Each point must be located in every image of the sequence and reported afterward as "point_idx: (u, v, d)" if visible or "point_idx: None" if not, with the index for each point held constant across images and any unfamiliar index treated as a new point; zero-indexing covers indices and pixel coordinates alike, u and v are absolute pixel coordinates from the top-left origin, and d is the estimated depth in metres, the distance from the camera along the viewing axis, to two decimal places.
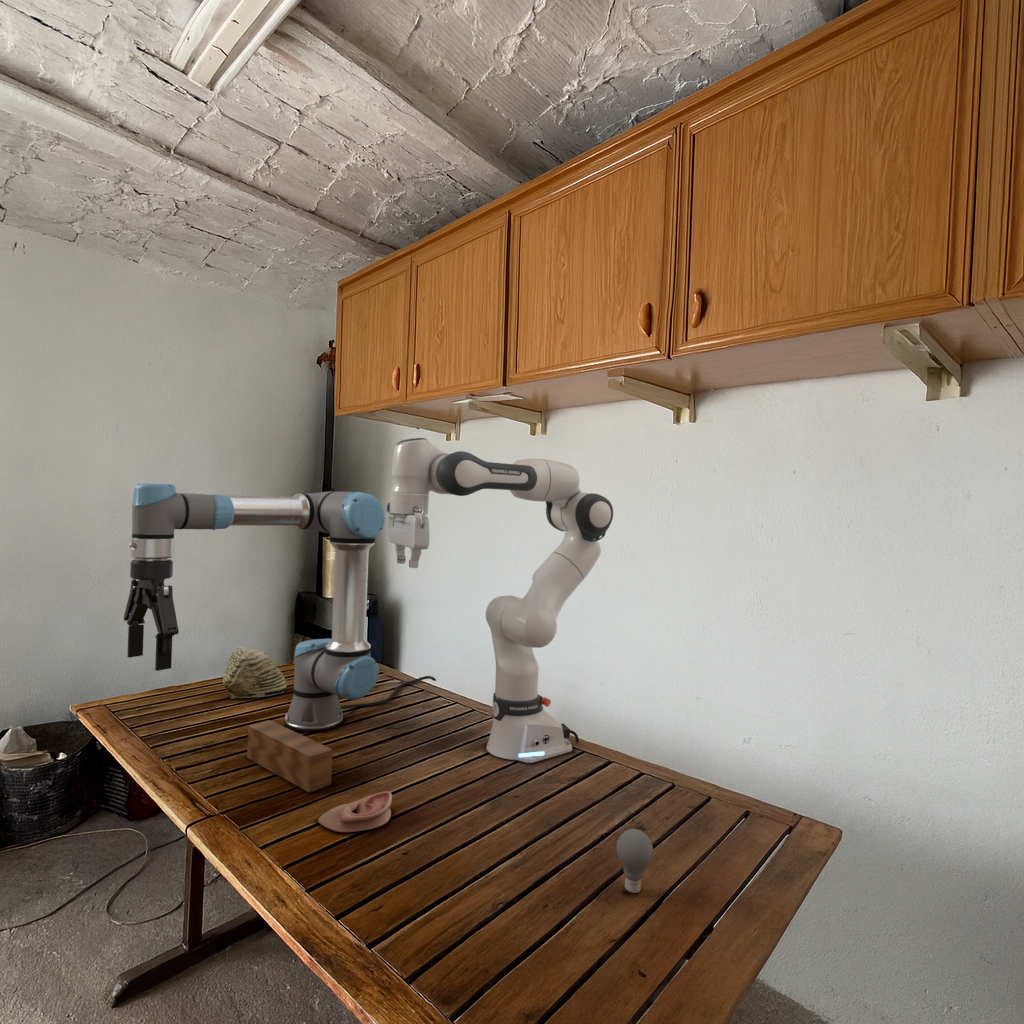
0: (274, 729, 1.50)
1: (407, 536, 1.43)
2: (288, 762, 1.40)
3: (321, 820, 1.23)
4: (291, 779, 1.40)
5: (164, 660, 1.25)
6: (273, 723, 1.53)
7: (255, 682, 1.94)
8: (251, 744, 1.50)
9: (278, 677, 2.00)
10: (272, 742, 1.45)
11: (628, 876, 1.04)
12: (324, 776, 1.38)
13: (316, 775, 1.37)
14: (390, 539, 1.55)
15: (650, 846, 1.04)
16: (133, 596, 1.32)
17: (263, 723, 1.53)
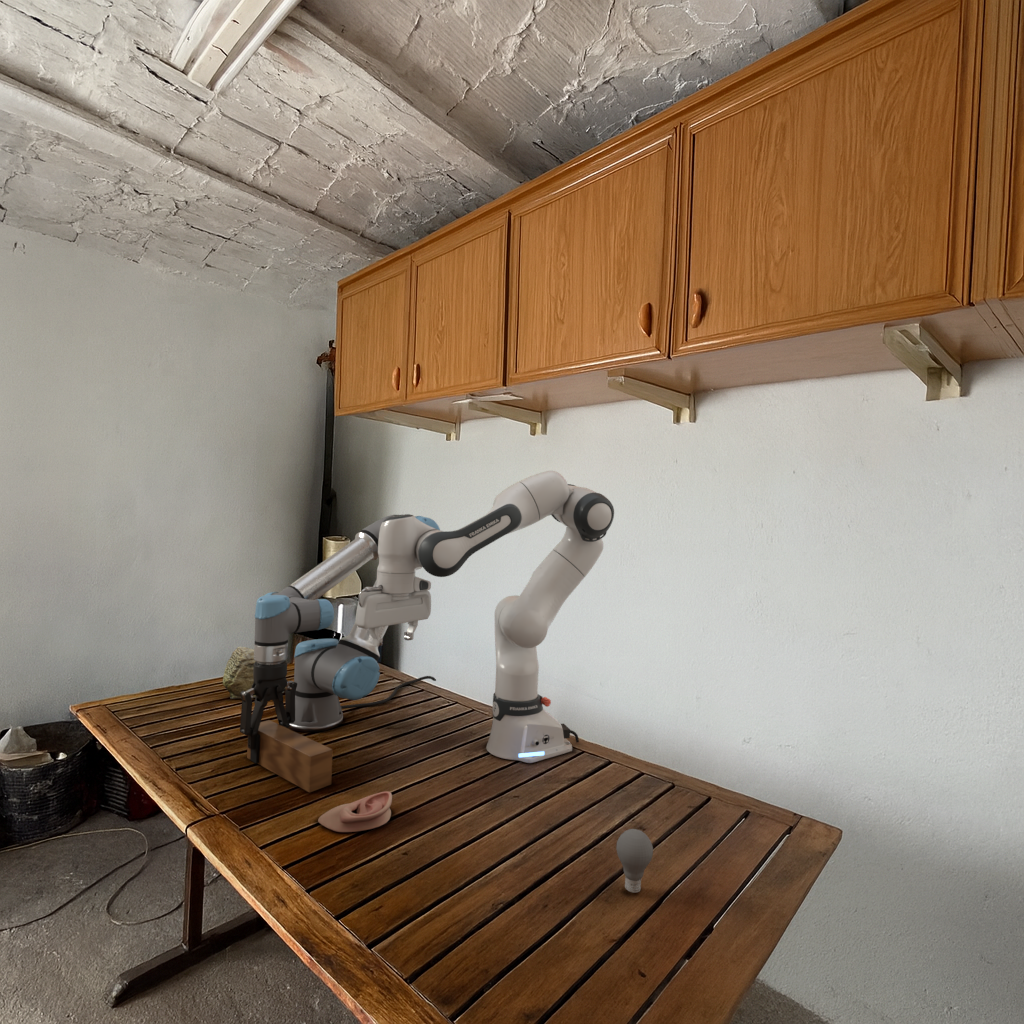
0: (274, 729, 1.50)
1: None
2: (288, 762, 1.40)
3: (321, 820, 1.23)
4: (291, 779, 1.40)
5: None
6: (273, 723, 1.53)
7: None
8: None
9: None
10: (272, 742, 1.45)
11: (628, 876, 1.04)
12: (324, 776, 1.38)
13: (316, 775, 1.37)
14: None
15: (650, 846, 1.04)
16: None
17: (263, 723, 1.53)
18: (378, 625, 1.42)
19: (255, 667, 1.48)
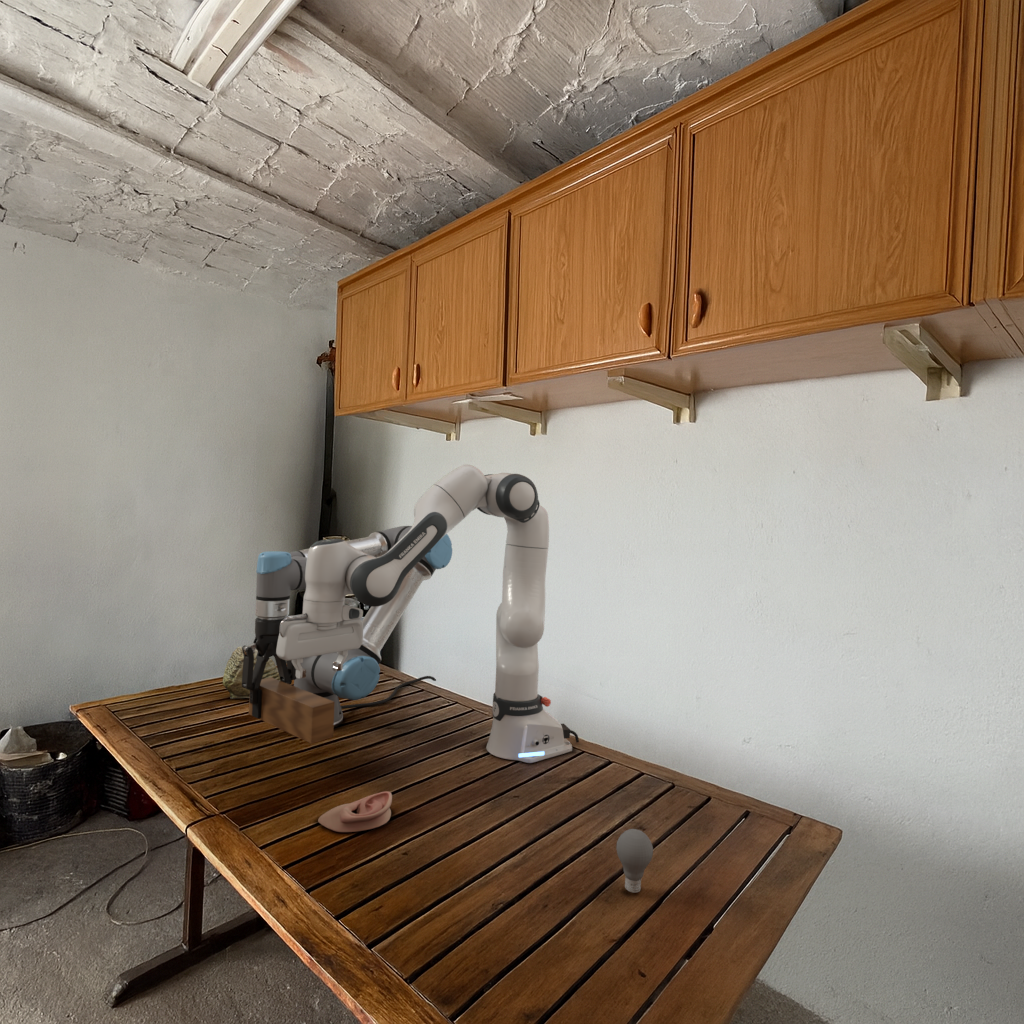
0: (276, 684, 1.50)
1: None
2: (290, 715, 1.40)
3: (321, 820, 1.23)
4: (293, 731, 1.40)
5: None
6: (275, 680, 1.53)
7: None
8: None
9: (278, 677, 2.00)
10: (274, 696, 1.44)
11: (628, 876, 1.04)
12: (326, 728, 1.38)
13: (318, 727, 1.36)
14: None
15: (650, 846, 1.04)
16: None
17: (264, 680, 1.53)
18: (301, 656, 1.34)
19: (257, 622, 1.48)
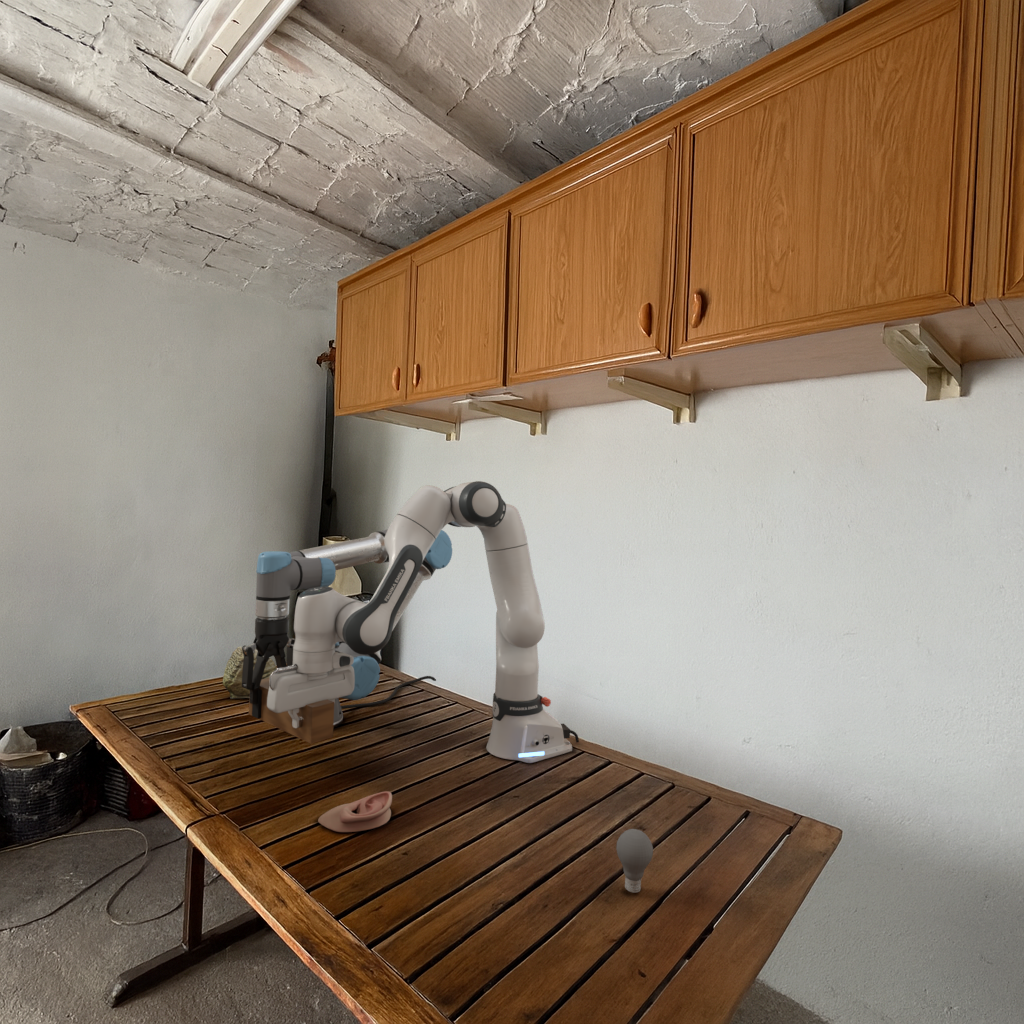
0: None
1: None
2: None
3: (321, 820, 1.23)
4: (293, 732, 1.39)
5: None
6: None
7: None
8: None
9: None
10: None
11: (628, 876, 1.04)
12: (326, 728, 1.38)
13: (318, 727, 1.36)
14: None
15: (650, 846, 1.04)
16: None
17: (264, 680, 1.53)
18: (291, 708, 1.34)
19: (257, 622, 1.48)
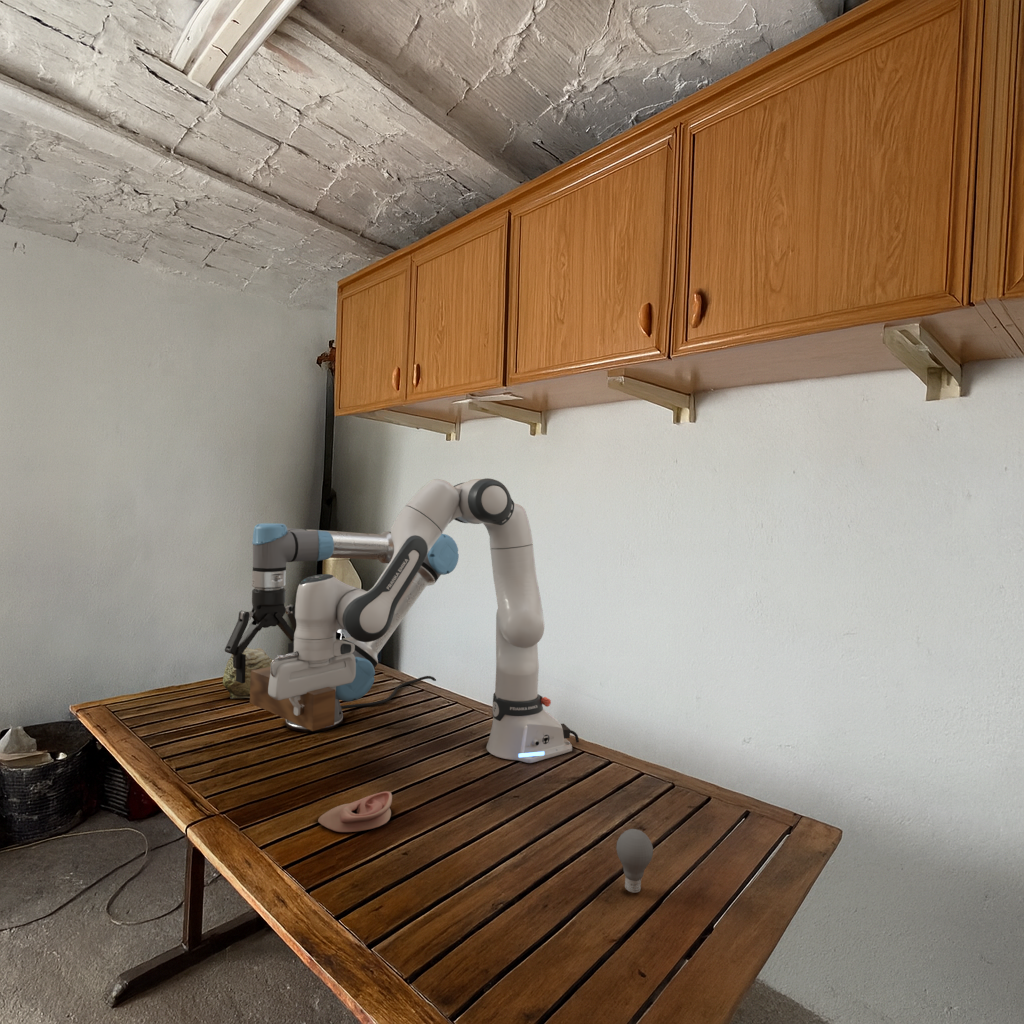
0: None
1: None
2: (291, 703, 1.40)
3: (321, 820, 1.23)
4: (294, 719, 1.39)
5: None
6: None
7: None
8: (254, 689, 1.50)
9: None
10: None
11: (628, 876, 1.04)
12: (327, 716, 1.38)
13: (319, 714, 1.36)
14: None
15: (650, 846, 1.04)
16: None
17: (265, 668, 1.53)
18: (293, 695, 1.34)
19: (254, 593, 1.49)
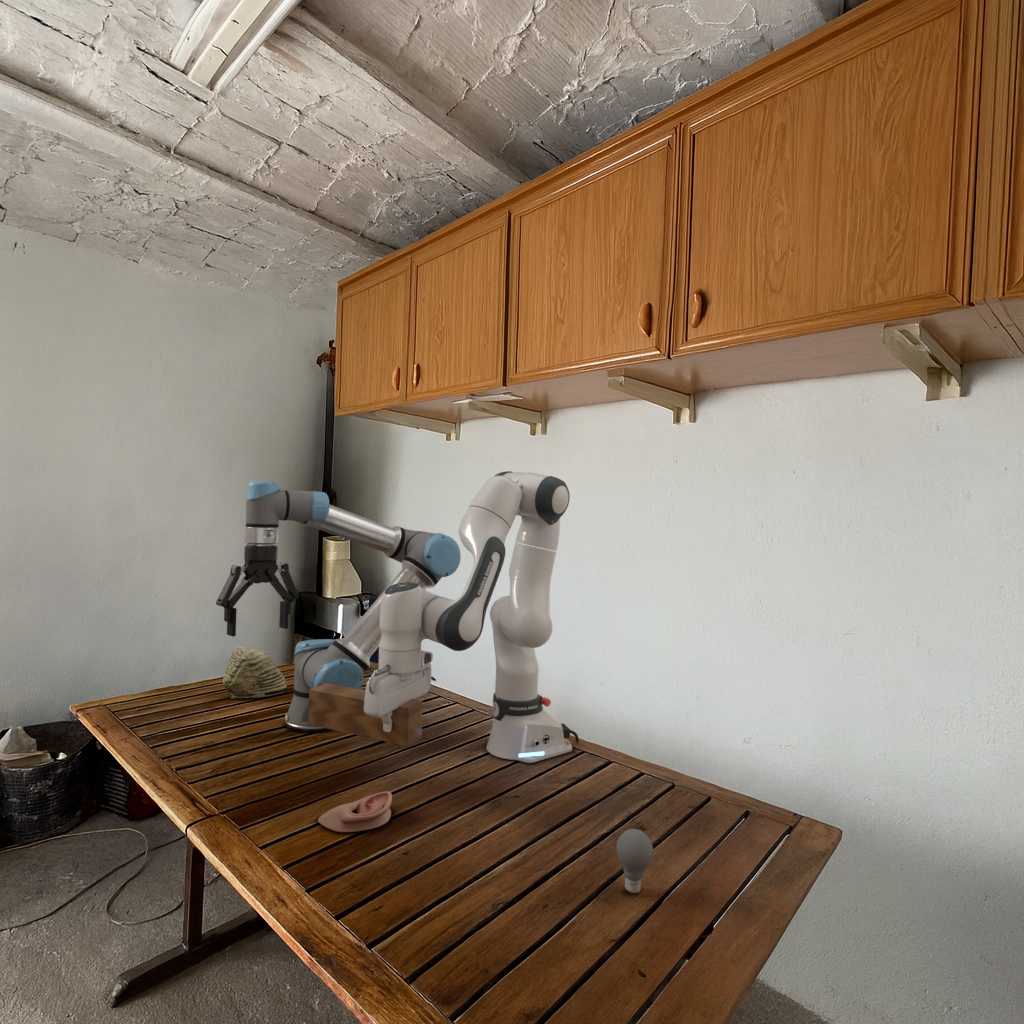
0: (341, 690, 1.40)
1: None
2: (375, 719, 1.33)
3: (321, 820, 1.23)
4: (379, 736, 1.32)
5: None
6: (334, 685, 1.43)
7: (255, 682, 1.94)
8: (315, 709, 1.39)
9: (278, 677, 2.00)
10: (348, 702, 1.35)
11: (628, 876, 1.04)
12: (417, 729, 1.33)
13: (412, 728, 1.31)
14: None
15: (650, 846, 1.04)
16: None
17: (323, 686, 1.42)
18: (389, 711, 1.27)
19: (246, 548, 1.51)
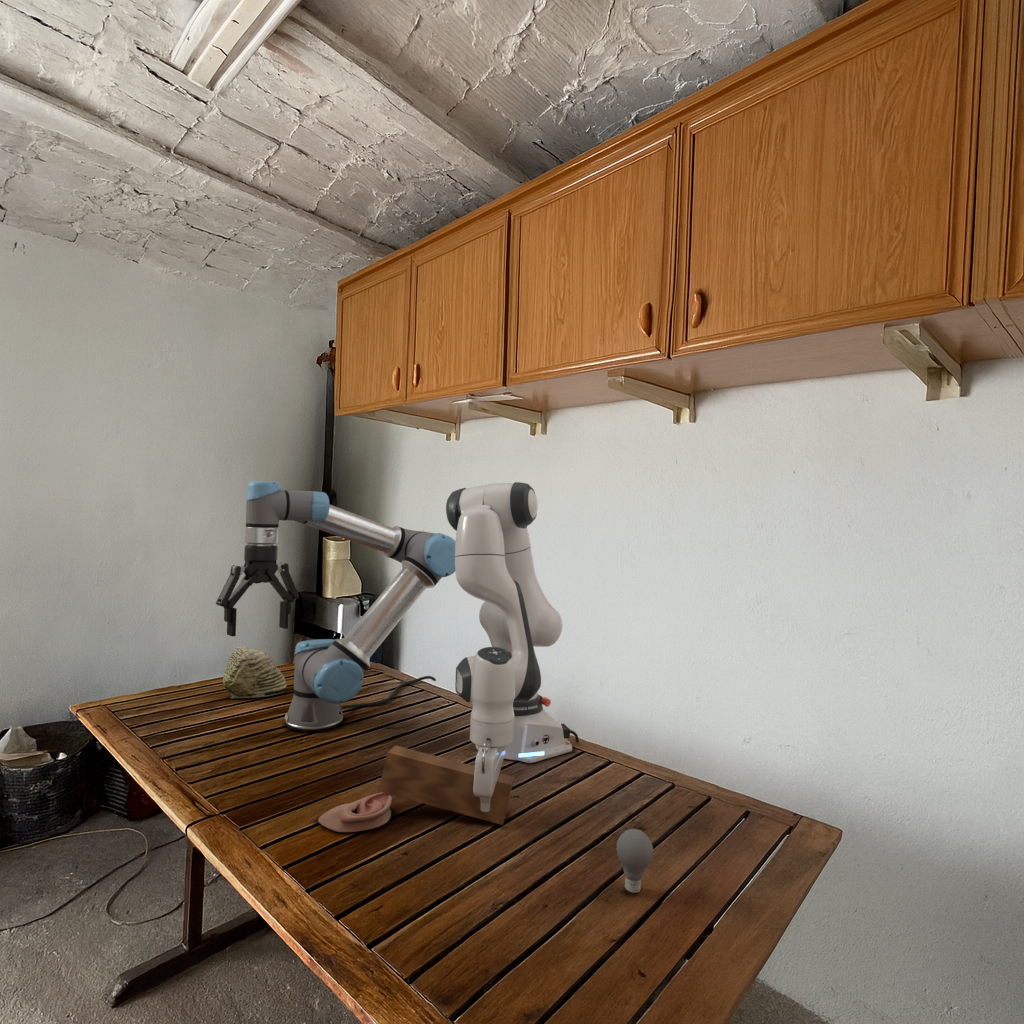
0: (421, 756, 1.30)
1: None
2: (467, 793, 1.25)
3: (321, 820, 1.23)
4: (469, 812, 1.25)
5: None
6: (407, 749, 1.33)
7: (255, 682, 1.94)
8: (391, 774, 1.27)
9: (278, 677, 2.00)
10: (436, 771, 1.27)
11: (628, 876, 1.04)
12: (507, 806, 1.28)
13: (507, 805, 1.26)
14: None
15: (650, 846, 1.04)
16: None
17: (397, 749, 1.31)
18: (494, 788, 1.21)
19: (246, 548, 1.51)
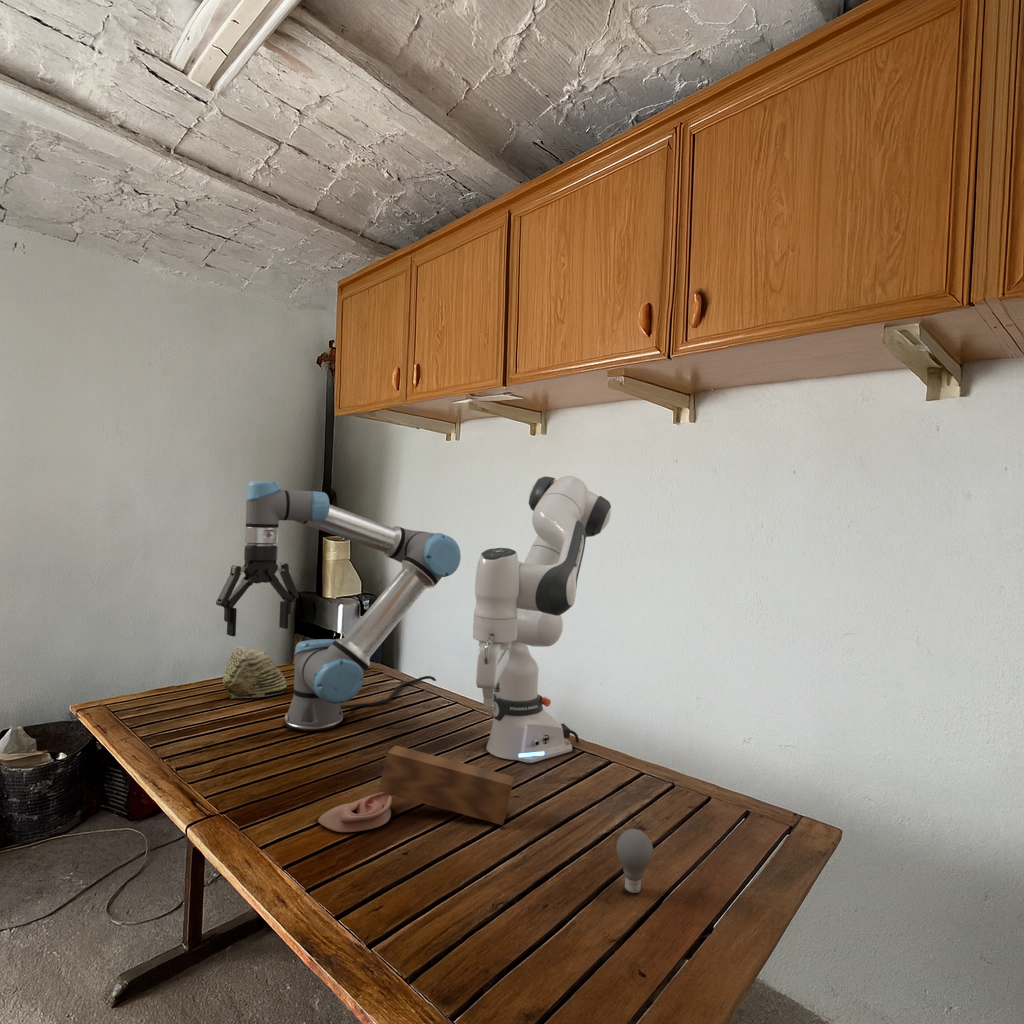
0: (421, 756, 1.30)
1: None
2: (467, 793, 1.25)
3: (321, 820, 1.23)
4: (469, 812, 1.25)
5: None
6: (407, 749, 1.32)
7: (255, 682, 1.94)
8: (391, 774, 1.27)
9: (278, 677, 2.00)
10: (436, 771, 1.27)
11: (628, 876, 1.04)
12: (507, 806, 1.28)
13: (507, 806, 1.26)
14: None
15: (650, 846, 1.04)
16: None
17: (397, 749, 1.31)
18: (497, 682, 1.21)
19: (246, 548, 1.51)
